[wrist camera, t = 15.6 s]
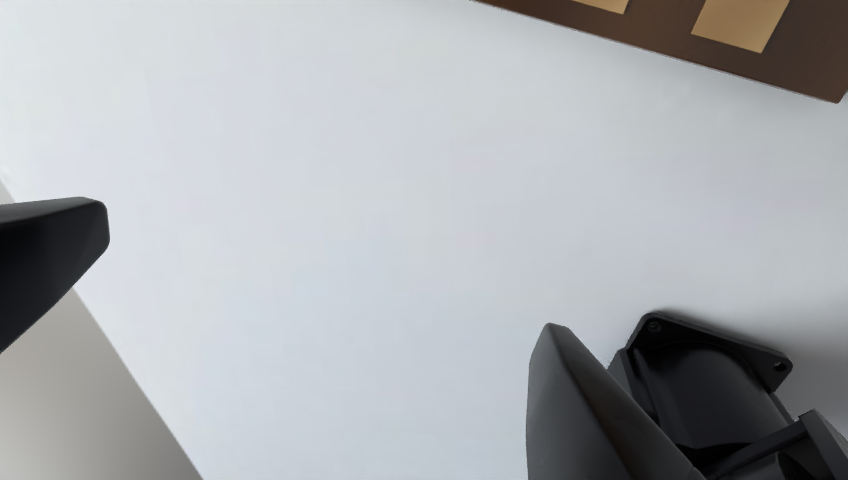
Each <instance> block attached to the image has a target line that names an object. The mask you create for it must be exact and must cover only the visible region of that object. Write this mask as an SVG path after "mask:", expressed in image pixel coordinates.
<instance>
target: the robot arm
mask: <svg viewBox="0 0 848 480" xmlns="http://www.w3.org/2000/svg"><path fill="white" fill-rule="evenodd" d="M109 242H110V233H109V224H108V215H107V208H106V206H105V205H104V204H103V203H102V202H100V201H97V200H93V199H90V198H86V197H71V198H61V199H52V200H42V201H32V202H23V203H13V204H5V205H0V354H1V353H2V352H3V351H4V350H5V349H6V348H8V347H9V346H10V345H11V344H12V343H13V342H14V341H15V340H17V339H18V338H19V337H20V336H21V335H22V334H23V333H24V332H26V330H28V329H29V328H30V327H31V326H32V325H33V324H35V323H36V322H37V321H38V320H39V319H40V318H41V317H42V316H43V315H45V313H46V312H48V311H49V310H50V309H51V308H52V307H53V306H54V305H55V304H56V303H57V302H58V301H59V300H60V299H61V298H62V297H63V296H64V295H65V294H66V293H67V292H68V291H69V290H70V288H71V287H72V286H73V285H74V284H75V283H76V282H77V281H78V280H79V279H80V278H81V277H82V276H83V274H84V273H85V272H86V271H87V270H88V269H89V268H90V267H91V266H92V265H93V264H94V263H95V261H96V260H97V259H98V258H99V257H100V256H101V255H102V254H103V253H104V252H105V250H106V249H107V247H108V245H109ZM652 322H657V323H658V324H657V325H656V326H654V327H649V326H648V325H649V324H650V323H652ZM779 362H780V363H781V364H779V365H778V366H773V365H775V364H776V363H779ZM792 368H793V364H792V362H791V361H790V360H789V359H788V357H787V356H786V355H785V354H783V353H781V352H777V351H774V350H771V349H768V348H765V347H762V346H759V345H756V344H752V343H749V342H746V341H743V340H740V339H737V338H734V337H731V336H727V335H724V334H721V333H718V332H715V331H712V330H709V329H706V328H702V327H699V326H696V325H693V324H690V323H687V322H684V321H681V320H677V319H674V318H671V317H668V316H665V315H662V314H659V313H654V312H652V313H647V314H645V315H644V316H643V317H642V318H641V319H640V321H639V323H638V324H637V326H636V328H635V330H634V331H633V333H632V335H631V337H630V339H629V340H628V342H627V344H626V346H625V347H624V348H622V349H620V350H618V351H617V353H616V355H615V356H614V358H613V360H612V362H611V363H610V365H609V367H608V369H607V370H606V369H605V368H604V366H603V365H602V364H601V363H600V362H599V361H598V360H597V359H596V358H595V357H594V356H593V354H592V353H591V352H590V351H589V350H588V349H587V348H586V347H585V346H584V345H583V343H582V342H581V341H580V340H579V339H578V338H577V337H576V336H575V335H574V334H573V332H572V331H571V330H570V329H569V328H567V327H565V326H561V325H557V324H554V323H547V324H546V325H545V326H544V327H543V330H542V332H541V334H540V336H539V339H538V341H537V343H536V346H535V348H534V350H533V352H532V355H531V359H530V364H529V380H528V398H527V417H526V452H527V467H528V480H848V441H847V440H846V439H845V438H844V437H843V436H842V435H841V434H840V433H839V432H838V431H837V430H836V429H835V428H834V427H833V426H832V425H831V424H830V423H829V422H828V421H827V420H826V419H825V418H824V417H823V416H822V415H821V414H820V413H819V412H818V411H816V410H815V409H813V410H811V411H809V412H807V413H805V414H803V415H801V416H798V417H799V419H800V420H799V421H797V422H794V420H793V419H792V418H791V416H790V415H789V413H788V412H787V411H786V409H785V408H784V406H783V405H782V403H781V402H780V401H779V399H778V398H777V396H776V395H775V394H774V392H775V391H776V389H777V388H778V387H779V386H780V384H781V383H782V382H783V381H784V379H785V378H786V377H787V376H788V374H789V373H790V372H791V370H792Z"/></svg>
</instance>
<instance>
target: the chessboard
mask: <svg viewBox="0 0 848 480" xmlns="http://www.w3.org/2000/svg"><path fill="white" fill-rule="evenodd" d="M470 1H473V2H477V3H480V4H484V5H487V6H491V7H494V8H498V9H501V10H505V11H508V12H512V13H515V14H519V15H522V16H526V17H530V18H533V19H537V20H540V21H544V22H547V23H551V24H554V25H558V26H561V27H565V28H568V29H572V30H575V31H579V32H582V33H586V34H589V35H593V36H596V37H600V38H603V39H607V40H610V41H614V42H617V43H621V44H624V45H628V46H631V47H635V48H638V49H642V50H645V51H649V52H652V53H656V54H659V55H663V56H666V57H670V58H673V59H677V60H680V61H684V62H687V63H691V64H694V65H698V66H701V67H705V68H708V69H712V70H715V71H719V72H722V73H726V74H729V75H733V76H737V77H740V78H744V79H747V80H751V81H754V82H758V83H761V84H765V85H768V86H772V87H775V88H779V89H782V90H786V91H789V92H793V93H796V94H800V95H803V96H807V97H810V98H814V99H817V100H821V101H826V102H830V103H835V104H838V103H839V102H840V101H841V99H842V98H843V96H844V94H845V93H846V91H847V90H848V0H470Z"/></svg>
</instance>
